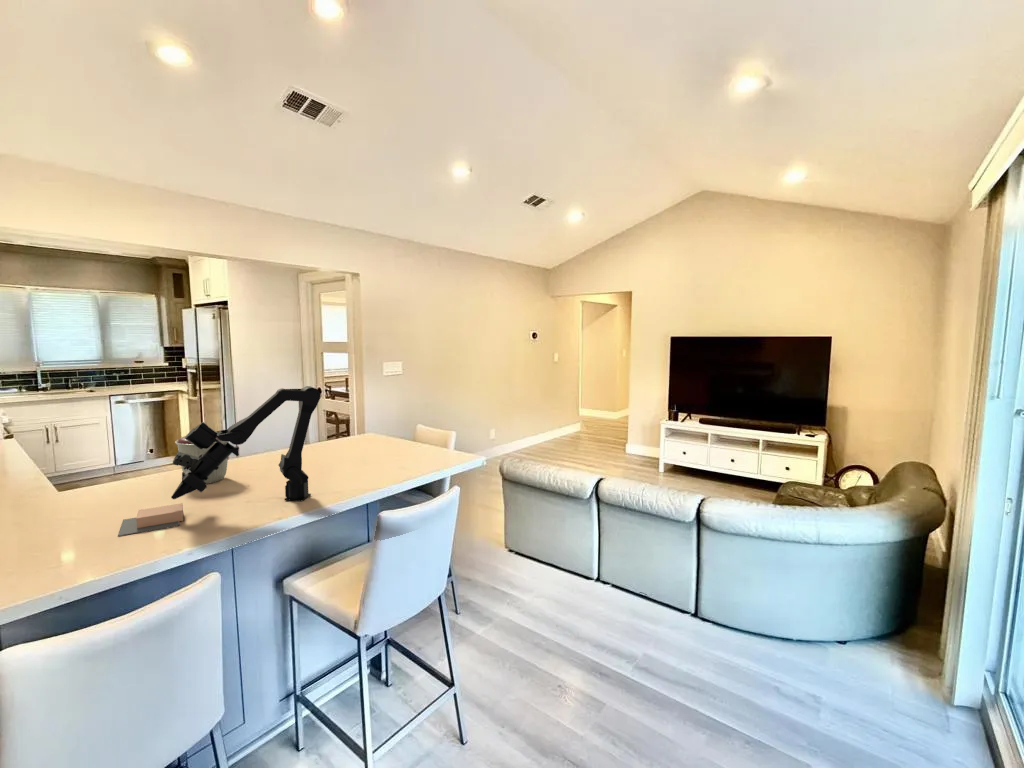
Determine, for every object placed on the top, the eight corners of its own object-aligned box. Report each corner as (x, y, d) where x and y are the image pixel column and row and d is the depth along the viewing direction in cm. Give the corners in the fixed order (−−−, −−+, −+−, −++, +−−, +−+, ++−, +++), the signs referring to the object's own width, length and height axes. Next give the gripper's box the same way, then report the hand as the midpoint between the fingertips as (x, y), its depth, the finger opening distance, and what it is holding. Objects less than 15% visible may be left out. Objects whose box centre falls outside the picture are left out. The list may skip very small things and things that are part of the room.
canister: (214, 471, 195) (212, 421, 193) (243, 477, 188) (240, 425, 186) (167, 483, 179) (163, 429, 177) (196, 490, 171) (192, 433, 169)
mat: (179, 511, 151) (179, 510, 151) (179, 525, 140) (178, 524, 140) (123, 520, 143) (123, 519, 143) (117, 536, 132) (117, 535, 132)
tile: (182, 503, 149) (138, 509, 143) (182, 510, 142) (136, 518, 136) (183, 512, 149) (139, 520, 143) (183, 520, 143) (136, 528, 136)
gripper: (190, 437, 153) (149, 475, 148) (190, 448, 138) (145, 491, 133) (219, 457, 158) (181, 495, 153) (223, 470, 143) (181, 513, 138)
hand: (172, 498), depth 144 cm, fingers closed
